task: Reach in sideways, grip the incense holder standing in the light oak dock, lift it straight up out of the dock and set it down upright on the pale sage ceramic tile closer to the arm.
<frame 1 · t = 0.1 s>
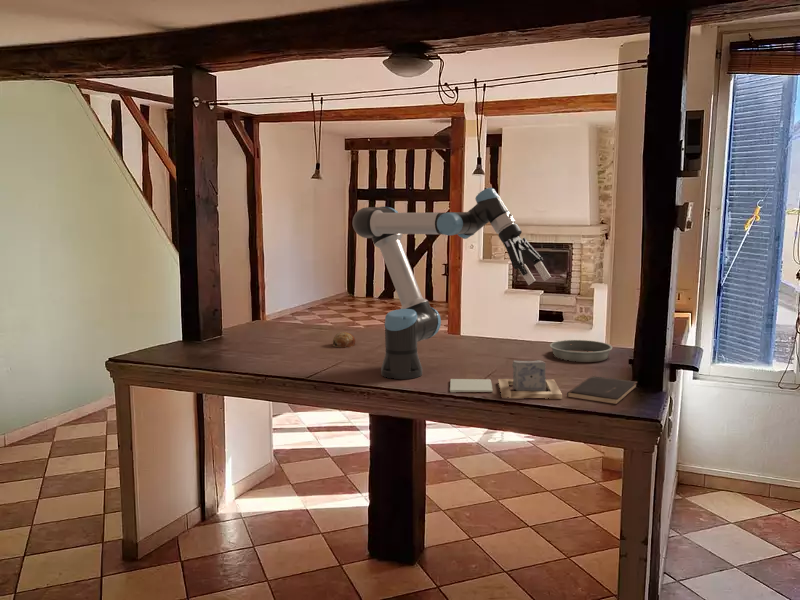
hand: (540, 280, 222), 36 cm above the table, tool tilted 35°, fingers open, 13 cm apart
bread roll: (344, 346, 295), on the table
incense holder: (528, 391, 219), on the table
oak dock: (528, 390, 219), on the table
cake pan: (580, 356, 268), on the table
hardcover book: (602, 393, 217), on the table
sage tile: (470, 386, 225), on the table
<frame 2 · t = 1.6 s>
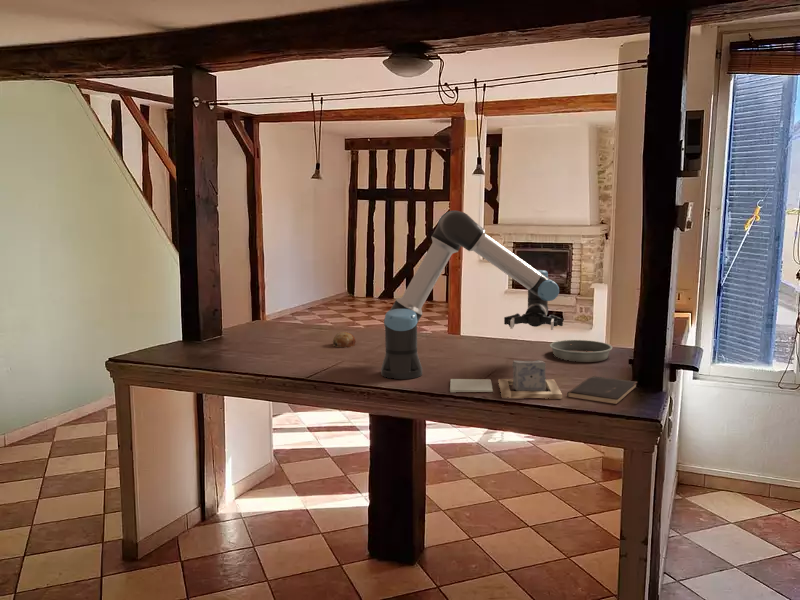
hand: (531, 325, 225), 20 cm above the table, tool horizontal, fingers open, 13 cm apart
nothing on the table moved.
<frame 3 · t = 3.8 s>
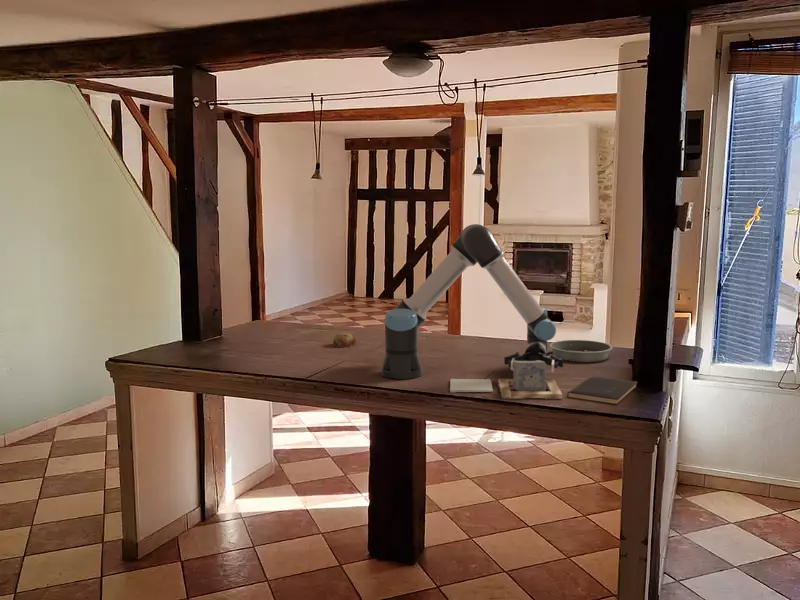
hand: (532, 367, 224), 6 cm above the table, tool horizontal, fingers open, 13 cm apart
nothing on the table moved.
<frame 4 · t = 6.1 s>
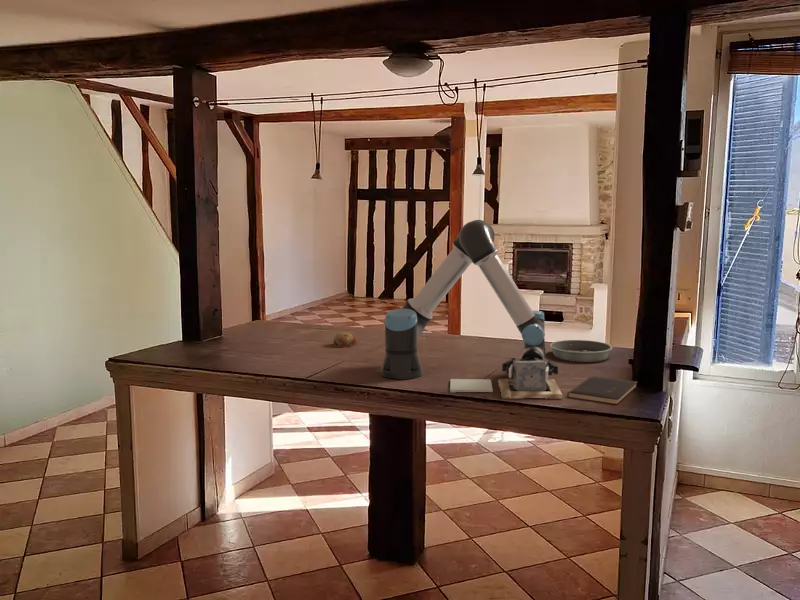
hand: (528, 374, 214), 7 cm above the table, tool horizontal, fingers closed on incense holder, 11 cm apart
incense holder: (529, 391, 219), on the table, touching gripper
everything else where it was.
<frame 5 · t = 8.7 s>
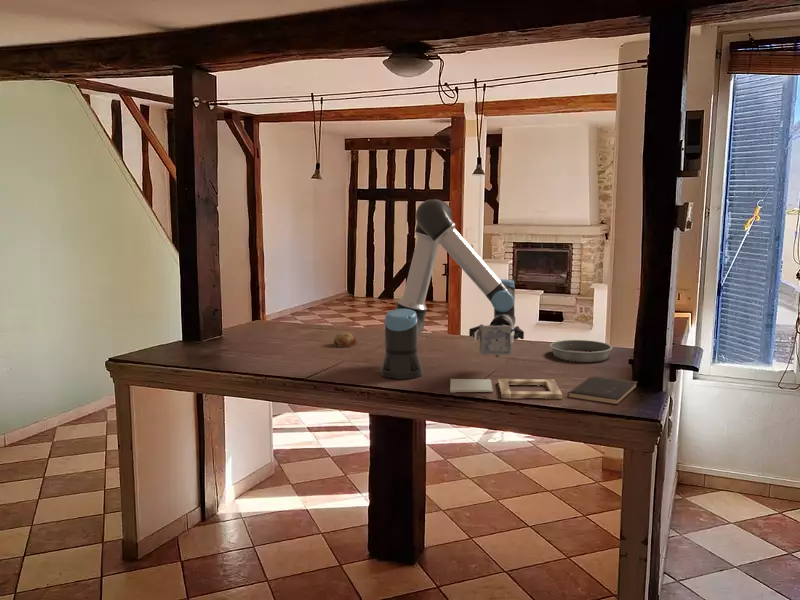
hand: (493, 338, 216), 18 cm above the table, tool horizontal, fingers closed on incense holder, 11 cm apart
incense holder: (494, 355, 221), point 11 cm above the table, touching gripper
everything else where it was.
when the fingers open (9 cm above the table, at t = 11.6 s): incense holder drops 1 cm, resting on sage tile.
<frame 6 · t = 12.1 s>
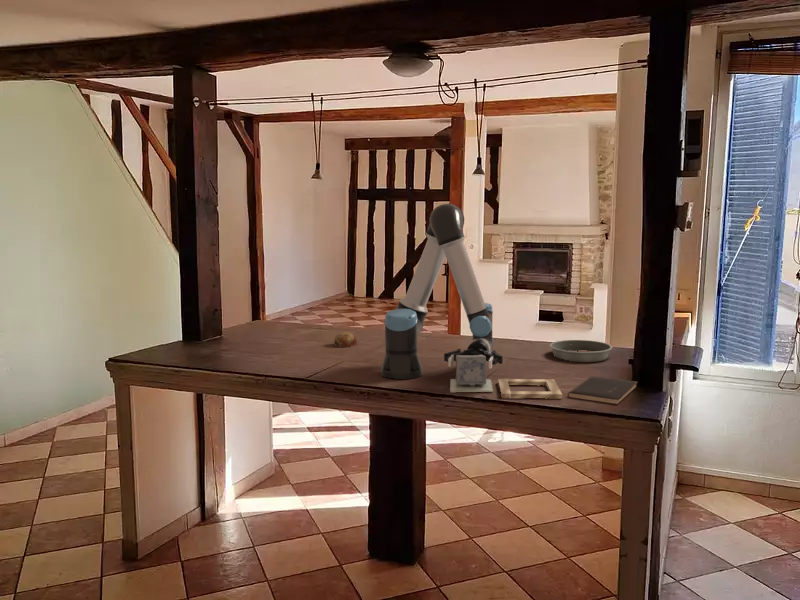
hand: (469, 363, 220), 9 cm above the table, tool horizontal, fingers open, 13 cm apart
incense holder: (470, 385, 225), point 1 cm above the table, touching sage tile
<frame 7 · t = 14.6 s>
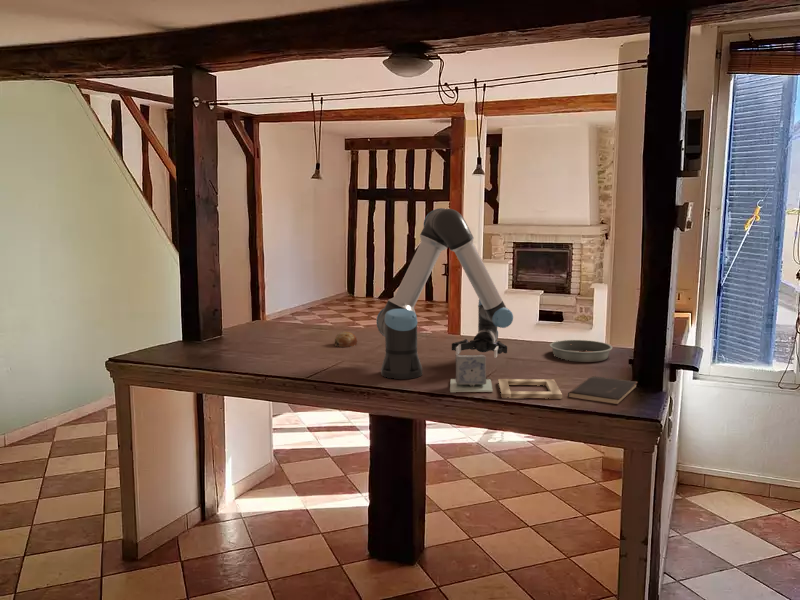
hand: (475, 352, 233), 10 cm above the table, tool horizontal, fingers open, 13 cm apart
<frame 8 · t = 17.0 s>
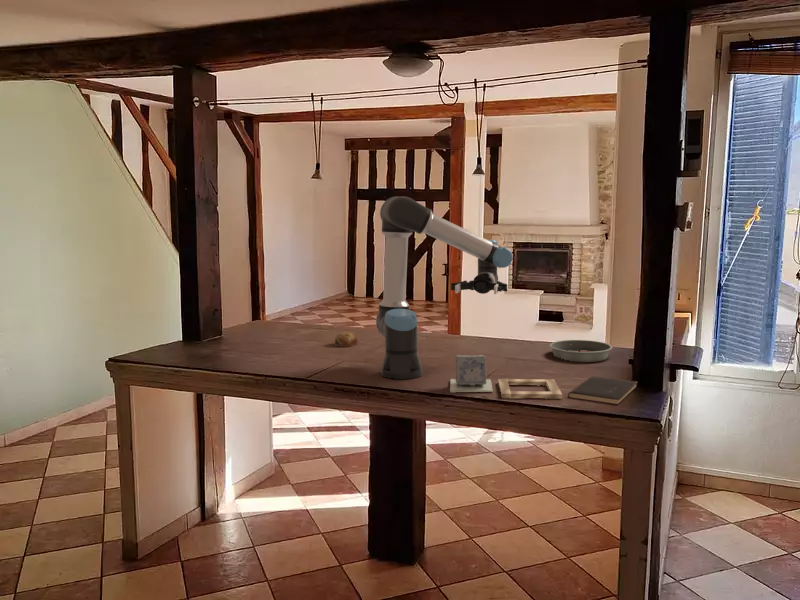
hand: (475, 289, 229), 32 cm above the table, tool horizontal, fingers open, 13 cm apart
at the end: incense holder inside the target area on the sage tile (0.1 cm from its centre), point 0.6 cm above the sage tile's base; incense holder tilted 1°; the gripper is holding nothing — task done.
